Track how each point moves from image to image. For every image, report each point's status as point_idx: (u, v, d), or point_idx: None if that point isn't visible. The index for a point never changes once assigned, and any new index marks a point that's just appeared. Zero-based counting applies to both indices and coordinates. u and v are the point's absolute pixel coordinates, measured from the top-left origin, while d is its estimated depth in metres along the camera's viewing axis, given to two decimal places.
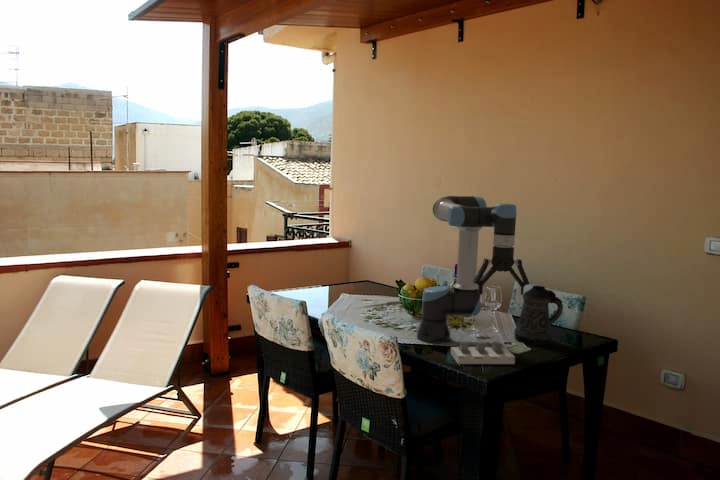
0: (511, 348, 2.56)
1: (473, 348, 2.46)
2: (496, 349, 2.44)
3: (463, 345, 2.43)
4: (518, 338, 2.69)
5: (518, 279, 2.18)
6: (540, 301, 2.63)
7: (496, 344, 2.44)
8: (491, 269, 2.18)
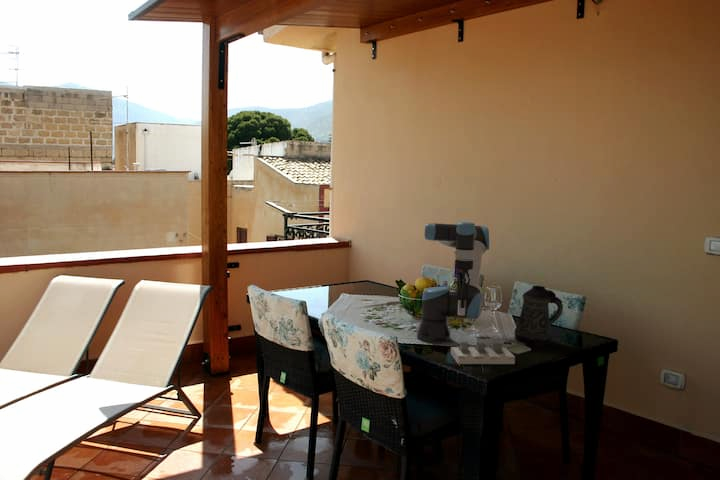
0: (511, 348, 2.56)
1: (473, 348, 2.46)
2: (496, 349, 2.44)
3: (463, 345, 2.43)
4: (518, 338, 2.69)
5: (460, 292, 2.47)
6: (540, 301, 2.63)
7: (496, 344, 2.44)
8: None
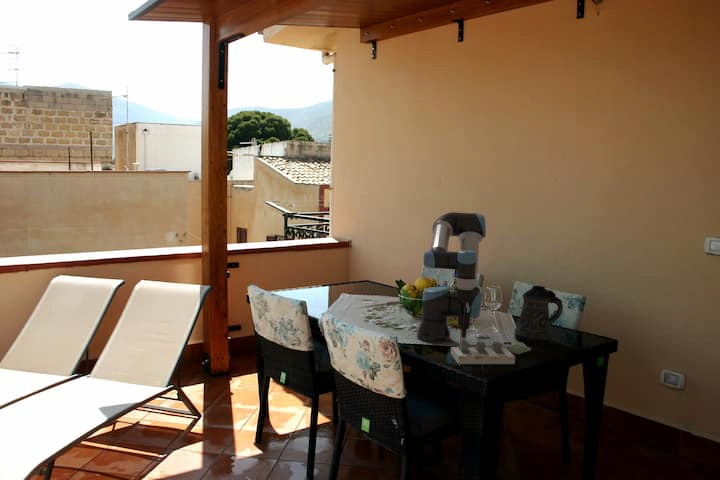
0: (511, 348, 2.56)
1: (473, 348, 2.46)
2: (496, 349, 2.44)
3: (463, 345, 2.43)
4: (518, 338, 2.69)
5: (461, 321, 2.44)
6: (540, 301, 2.63)
7: (496, 344, 2.44)
8: None
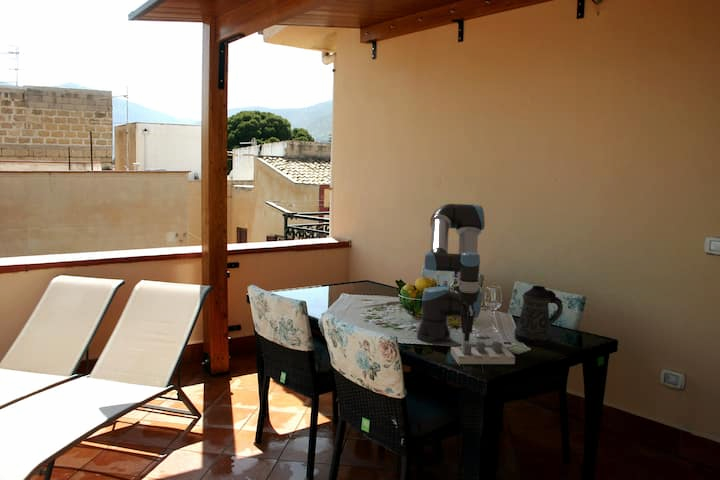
0: (511, 348, 2.56)
1: (473, 348, 2.46)
2: (496, 349, 2.44)
3: (466, 348, 2.38)
4: (518, 338, 2.69)
5: (464, 325, 2.39)
6: (540, 301, 2.63)
7: (496, 344, 2.44)
8: None
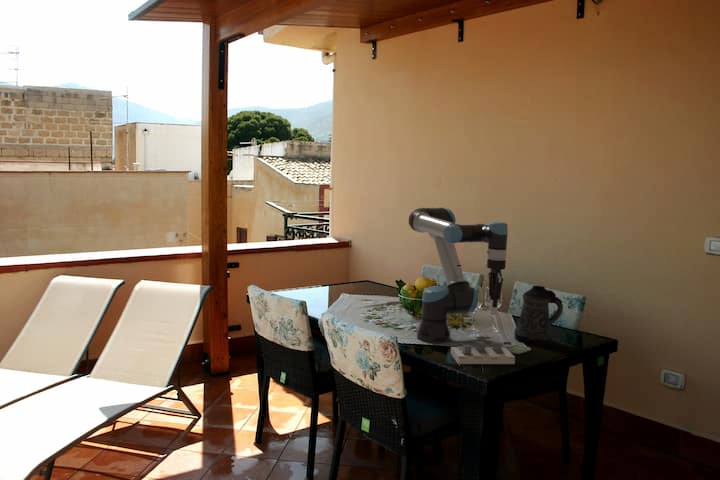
0: (511, 348, 2.56)
1: (473, 348, 2.46)
2: (496, 349, 2.44)
3: (466, 348, 2.38)
4: (518, 338, 2.69)
5: (492, 292, 2.48)
6: (540, 301, 2.63)
7: (496, 344, 2.44)
8: None
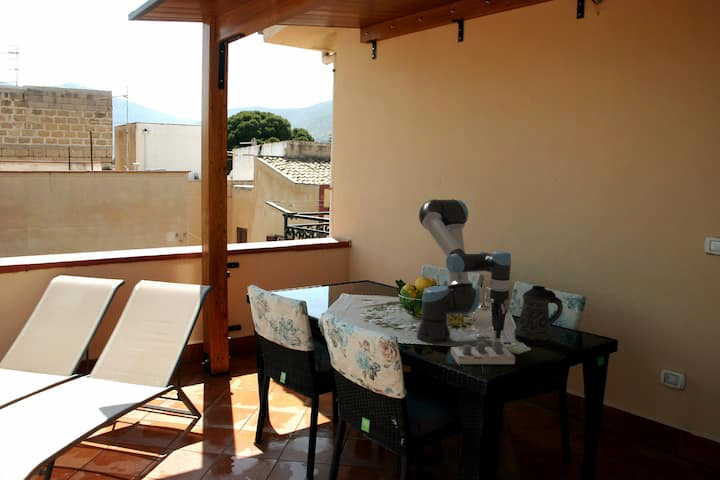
0: (511, 348, 2.56)
1: (473, 348, 2.46)
2: (497, 350, 2.43)
3: (466, 348, 2.38)
4: (518, 338, 2.69)
5: (496, 322, 2.44)
6: (540, 301, 2.63)
7: (497, 345, 2.43)
8: None
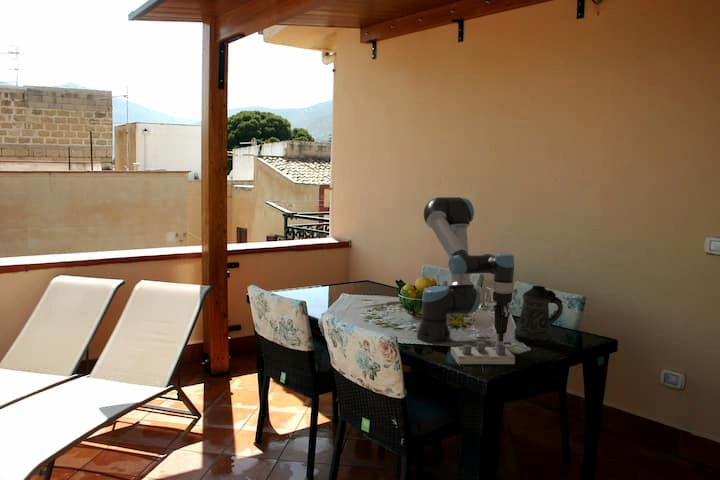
0: (511, 348, 2.56)
1: (473, 348, 2.46)
2: (500, 353, 2.40)
3: (466, 348, 2.38)
4: (518, 338, 2.69)
5: (498, 325, 2.41)
6: (540, 301, 2.63)
7: (500, 347, 2.39)
8: None
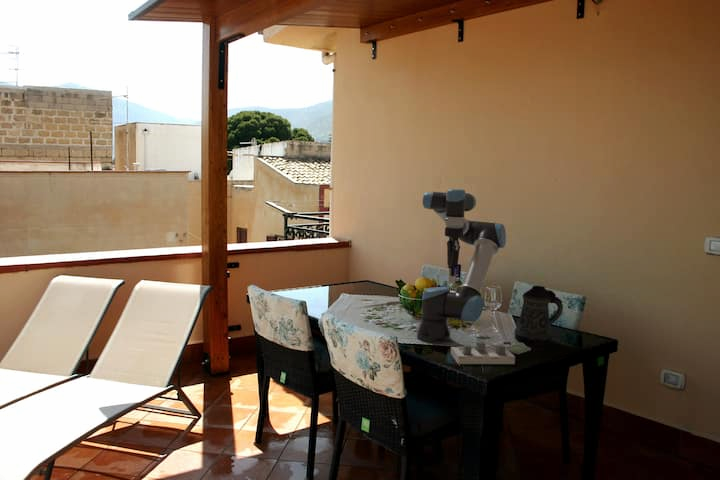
0: (511, 348, 2.56)
1: (473, 348, 2.46)
2: (500, 353, 2.40)
3: (466, 348, 2.38)
4: (518, 338, 2.69)
5: (450, 260, 2.45)
6: (540, 301, 2.63)
7: (500, 347, 2.39)
8: None
